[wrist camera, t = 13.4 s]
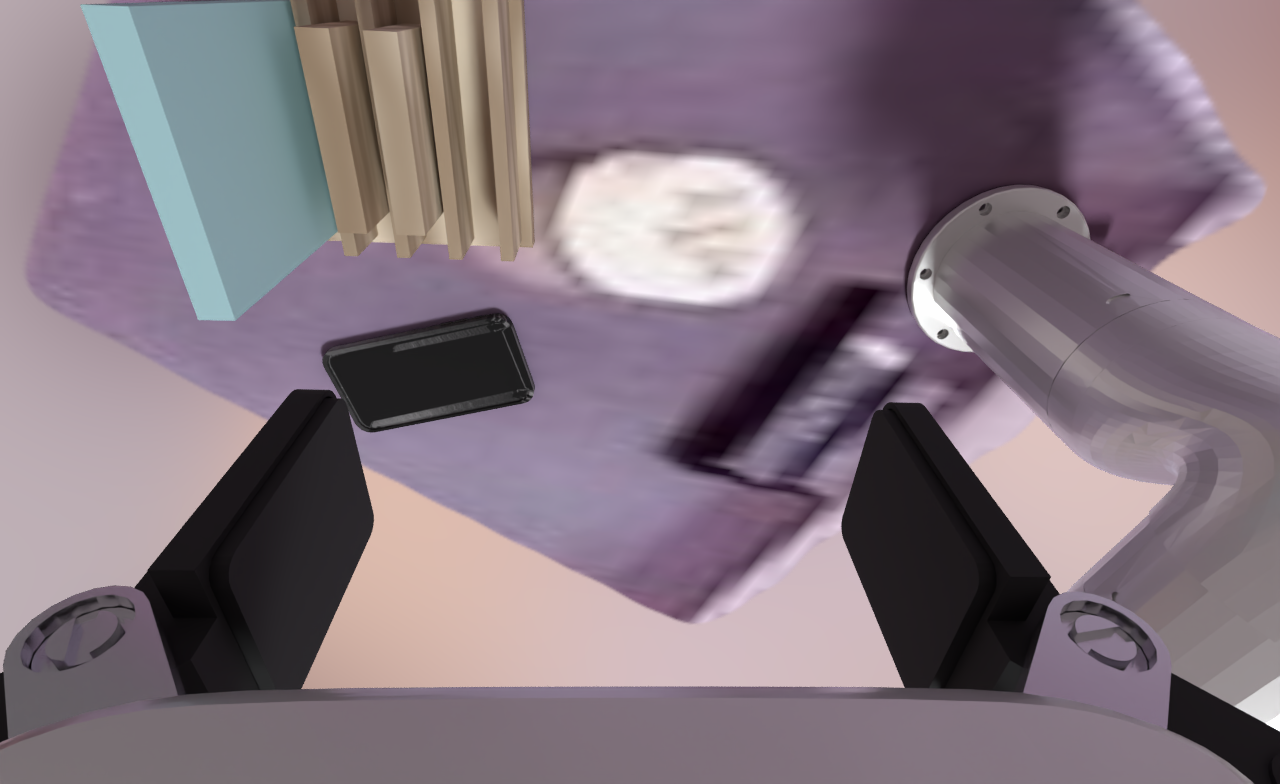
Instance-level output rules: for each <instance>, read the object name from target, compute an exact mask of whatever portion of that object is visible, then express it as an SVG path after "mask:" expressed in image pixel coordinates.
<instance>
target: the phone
mask: <svg viewBox="0 0 1280 784" xmlns="http://www.w3.org/2000/svg"><path fill="white" fill-rule="evenodd" d="M323 366H324V368H325V370H326V372H327V373H328V375H329V377H330V379H331V381H332V382H333V384H334V386H335V388H336V390H337V391H338V393H339V395H340V397H341V398H342V399H343V400H344V401H345V402H346V404H347V407H348V411H349V413H350V415H351V416H352V418H353V420H354V422H355V424H356V425H357V426H358V427H359V428H360V429H361V430H364V431H366V432H378V431H384V430H389V429H394V428H399V427H404V426H409V425H414V424H420V423H425V422H430V421H435V420H440V419H445V418H450V417H455V416H461V415H466V414H471V413H476V412H481V411H486V410H491V409H497V408H502V407H507V406H512V405H517V404H522V403H526V402H528V401H529V400H531V398H532V397H533V394H534V389H535V385H534V382H533V379H532V376H531V373H530V370H529V368H528V365H527V362H526V359H525V356H524V353H523V351H522V348H521V345H520V342H519V339H518V336H517V334H516V331H515V328H514V325H513V323H512V321H511V320H510V319H509V318H508V317H507V316H505V315H503V314H499V313H496V314H489V315H484V316H478V317H475V318H470V319H463V320H458V321H455V322H447V323H442V324H441V325H436V326H431V327H427V328H422V329H417V330H412V331H407V332H402V333H398V334H393V335H388V336H383V337H378V338H374V339H369V340H364V341H359V342H354V343H349V344H345V345H340V346H335V347H332V348H330V349H329V350H328V351H327V352H326V354H325V355H324V357H323Z"/></svg>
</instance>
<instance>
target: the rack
mask: <svg viewBox="0 0 1280 784" xmlns="http://www.w3.org/2000/svg"><path fill="white" fill-rule="evenodd" d="M290 2H291V6H292V11H293V16H294V20H295V25H296V26H304V25H313V24H321V23H330V22H338V21H358V25H359V31H360V37H361V43H362V49H363V55H364V61H365V67H366V73H367V79H368V85H369V91H370V97H371V103H372V109H373V115H374V121H375V127H376V133H377V139H378V145H379V151H380V157H381V163H382V169H383V175H384V181H385V187H386V192H387V198H388V204H389V210H390V212H389V213H388V214H387V215H386V216H385V217H384V218H383V219H382V220H381V221H380V222H379V223H378V224H377V225H376V226H375V227H374V228H373V229H372V230H371V231H370V232H369V233H368V234H359V233H338V232H337V233H335V234H334V235H333V236H332V237H331V238H330V239H329V240H330V241H342V245H343V249H344V254H345V256H359V255H360V254H361V253H362V252H363V251H364V250H365V248H366V247H367V246H368V245H369V244H370V243H371V242H389V243H395V246H396V252H397V257H398V258H411V257H412V255H413V254H414V253H415V251H416V250H417V249H418V247H419V246H420V245H421V244H448V251H449V259H459V260H463V258H464V256H465V254H466V252H467V251H468V249H469V247H470V245H477V246H500V252H501V261H514V260H515V257H516V255H517V252H518V249H519V247H533V245H534V242H535V239H534V217H533V195H532V172H531V150H530V127H529V105H528V82H527V60H526V38H525V15H524V0H290ZM404 23H405V24H421V28H422V37H423V45H424V53H425V61H426V70H427V78H428V86H429V94H430V103H431V111H432V119H433V127H434V136H435V144H436V152H437V160H438V169H439V177H440V185H441V193H442V202H443V210H444V212H443V214H442V215H441V216H440V217H439V219H438V220H437V221H436V223H435V224H434V225H433V226H432V228H431V229H430V230H429V232H428V233H427V234H426V236H417V235H396V230H395V223H394V217H393V211H392V205H391V199H390V193H389V187H388V181H387V175H386V169H385V163H384V157H383V151H382V145H381V139H380V133H379V127H378V120H377V114H376V108H375V102H374V96H373V90H372V84H371V78H370V72H369V66H368V60H367V54H366V48H365V42H364V36H363V30H367V29H373V28H379V27H385V26H392V25H398V24H404Z"/></svg>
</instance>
